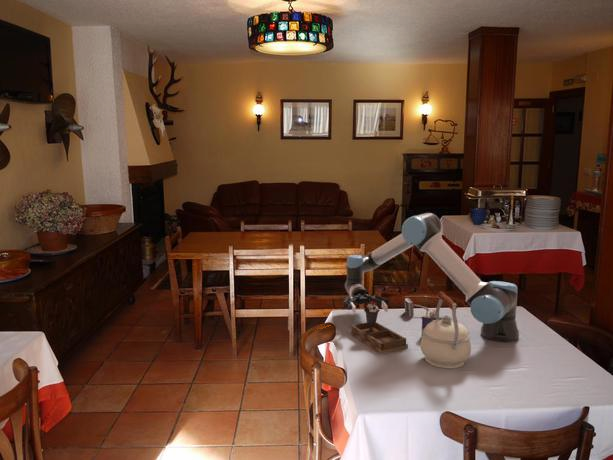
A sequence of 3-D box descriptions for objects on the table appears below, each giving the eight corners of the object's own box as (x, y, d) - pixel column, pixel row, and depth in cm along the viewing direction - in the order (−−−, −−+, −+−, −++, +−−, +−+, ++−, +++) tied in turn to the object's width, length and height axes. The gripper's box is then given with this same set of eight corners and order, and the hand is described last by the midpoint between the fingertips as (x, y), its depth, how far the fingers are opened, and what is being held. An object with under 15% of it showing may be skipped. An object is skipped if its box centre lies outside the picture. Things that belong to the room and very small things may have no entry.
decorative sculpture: (438, 315, 247) (439, 300, 245) (436, 322, 238) (437, 307, 236) (404, 311, 252) (404, 297, 251) (401, 318, 243) (401, 303, 242)
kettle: (479, 372, 187) (483, 306, 182) (429, 374, 186) (432, 307, 181) (455, 345, 211) (458, 285, 207) (410, 346, 210) (412, 286, 206)
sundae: (380, 331, 222) (381, 297, 220) (376, 336, 216) (378, 301, 214) (364, 329, 224) (366, 295, 222) (361, 334, 218) (362, 299, 216)
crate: (407, 347, 209) (408, 338, 208) (380, 354, 203) (381, 344, 202) (374, 329, 229) (375, 320, 228) (349, 334, 223) (349, 325, 222)
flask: (442, 335, 221) (443, 311, 219) (444, 338, 218) (445, 313, 216) (420, 335, 222) (421, 311, 220) (422, 338, 219) (422, 313, 217)
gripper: (385, 300, 241) (399, 316, 220) (332, 303, 238) (341, 319, 217) (385, 285, 239) (399, 299, 219) (332, 287, 236) (341, 302, 216)
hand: (370, 309), depth 218 cm, fingers open, 13 cm apart
